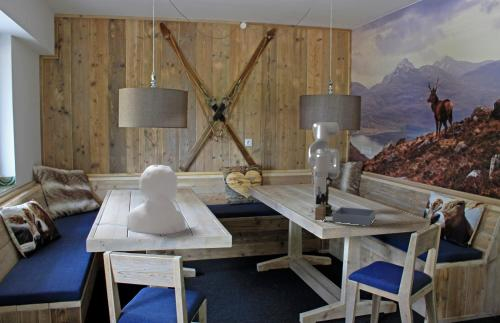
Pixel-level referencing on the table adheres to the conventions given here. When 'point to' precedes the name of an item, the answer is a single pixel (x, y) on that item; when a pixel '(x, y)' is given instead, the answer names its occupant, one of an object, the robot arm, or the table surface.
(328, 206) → the statue
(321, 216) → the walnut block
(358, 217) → the slate bin
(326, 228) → the table surface
